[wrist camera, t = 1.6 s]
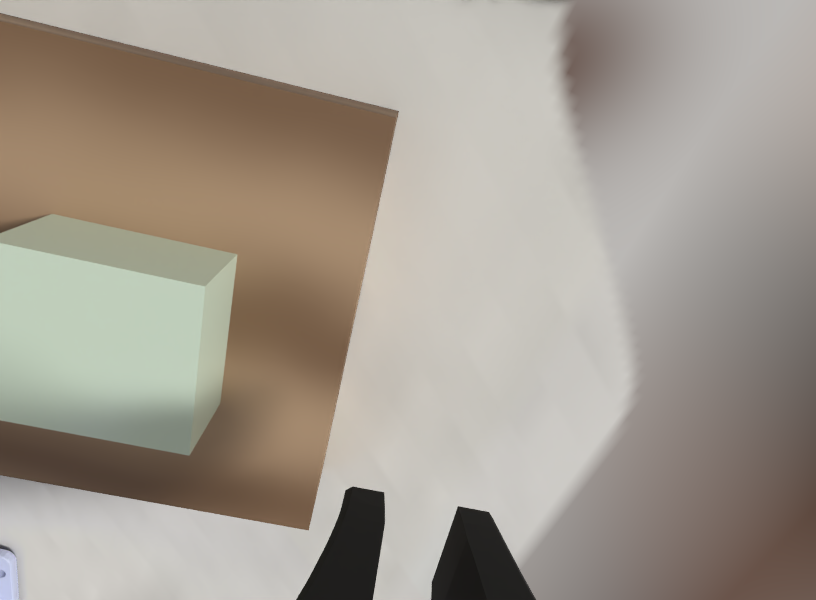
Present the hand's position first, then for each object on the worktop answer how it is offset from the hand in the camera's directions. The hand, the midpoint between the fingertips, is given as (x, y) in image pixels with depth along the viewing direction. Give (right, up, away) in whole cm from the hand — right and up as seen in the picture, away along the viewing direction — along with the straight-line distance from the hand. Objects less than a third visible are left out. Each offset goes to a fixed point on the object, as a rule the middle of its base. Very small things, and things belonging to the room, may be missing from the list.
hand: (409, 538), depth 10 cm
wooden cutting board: (-9, +5, +8) cm, 13 cm away
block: (-8, +4, +5) cm, 10 cm away
